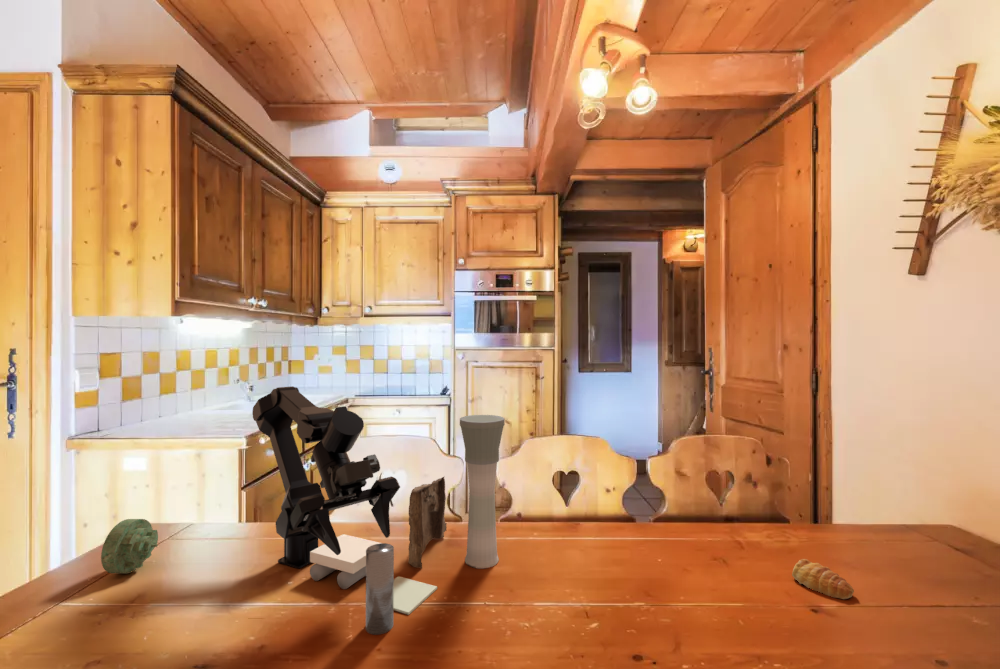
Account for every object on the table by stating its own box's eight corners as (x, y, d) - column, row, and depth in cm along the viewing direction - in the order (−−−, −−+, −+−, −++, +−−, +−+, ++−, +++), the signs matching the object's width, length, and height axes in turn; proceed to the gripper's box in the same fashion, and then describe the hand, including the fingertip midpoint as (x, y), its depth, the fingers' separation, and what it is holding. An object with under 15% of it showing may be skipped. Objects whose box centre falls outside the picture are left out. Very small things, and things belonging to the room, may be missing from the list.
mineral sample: (421, 569, 94) (421, 494, 94) (402, 567, 95) (402, 493, 95) (448, 535, 110) (448, 471, 110) (432, 533, 111) (432, 470, 111)
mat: (367, 602, 82) (367, 599, 82) (398, 578, 90) (398, 576, 90) (408, 614, 78) (408, 612, 78) (437, 588, 86) (437, 586, 86)
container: (496, 547, 104) (496, 413, 104) (510, 567, 95) (510, 421, 95) (454, 553, 101) (455, 416, 101) (465, 574, 92) (465, 423, 92)
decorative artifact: (140, 558, 98) (141, 511, 98) (173, 558, 98) (174, 511, 98) (100, 583, 88) (101, 531, 88) (137, 583, 88) (138, 531, 88)
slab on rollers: (307, 578, 90) (308, 552, 90) (344, 556, 99) (344, 533, 99) (351, 591, 86) (351, 564, 86) (385, 567, 95) (386, 542, 95)
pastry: (861, 596, 85) (861, 575, 85) (841, 606, 82) (840, 584, 82) (808, 573, 93) (808, 554, 93) (787, 581, 90) (787, 561, 90)
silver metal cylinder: (359, 630, 74) (360, 552, 74) (377, 615, 78) (378, 541, 78) (381, 637, 72) (382, 557, 72) (398, 622, 76) (399, 546, 76)
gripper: (297, 451, 76) (326, 538, 68) (394, 434, 90) (428, 505, 82) (279, 488, 82) (304, 572, 74) (373, 467, 95) (403, 537, 87)
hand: (364, 544), depth 79 cm, fingers open, 9 cm apart
